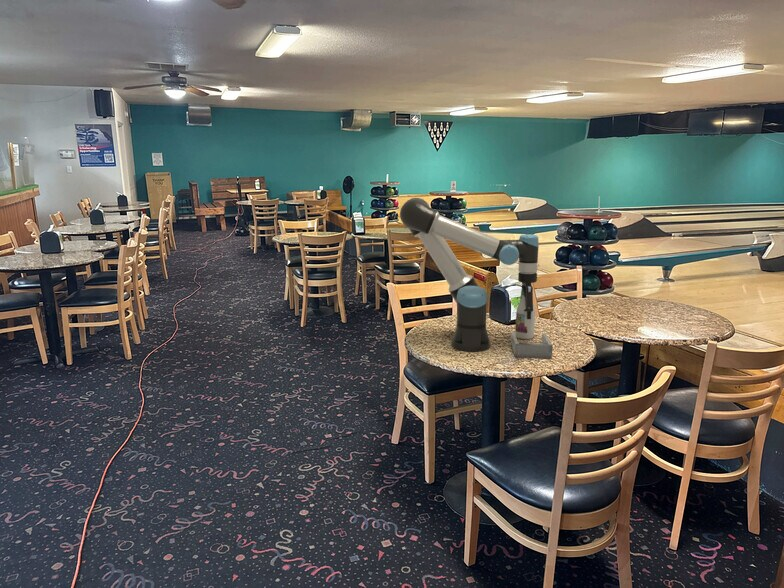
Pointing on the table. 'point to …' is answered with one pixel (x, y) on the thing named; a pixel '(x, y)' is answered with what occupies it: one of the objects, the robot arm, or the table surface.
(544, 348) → the coupler bracket
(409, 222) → the robot arm
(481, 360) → the table surface
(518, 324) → the milk bottle
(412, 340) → the table surface
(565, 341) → the table surface
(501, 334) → the table surface
